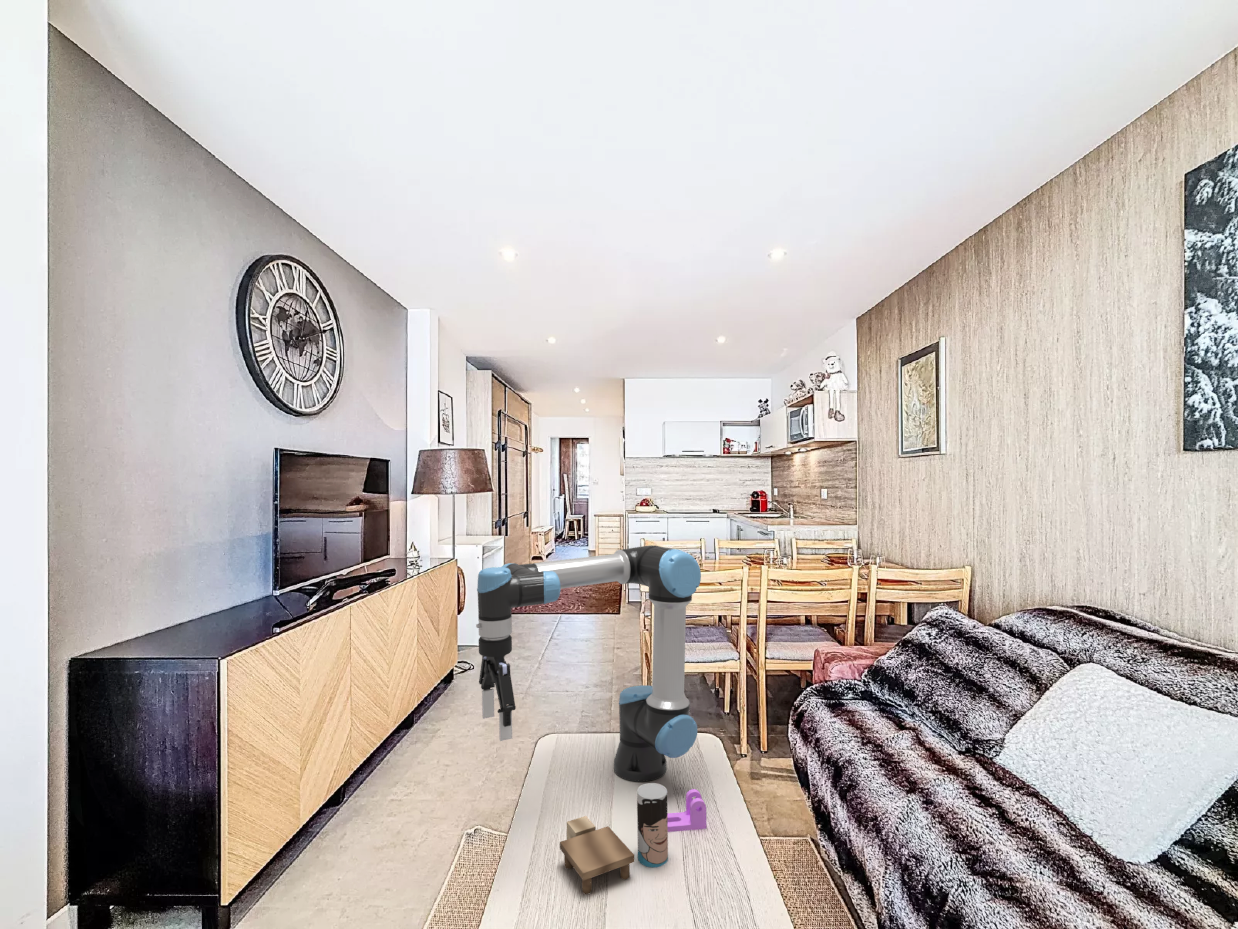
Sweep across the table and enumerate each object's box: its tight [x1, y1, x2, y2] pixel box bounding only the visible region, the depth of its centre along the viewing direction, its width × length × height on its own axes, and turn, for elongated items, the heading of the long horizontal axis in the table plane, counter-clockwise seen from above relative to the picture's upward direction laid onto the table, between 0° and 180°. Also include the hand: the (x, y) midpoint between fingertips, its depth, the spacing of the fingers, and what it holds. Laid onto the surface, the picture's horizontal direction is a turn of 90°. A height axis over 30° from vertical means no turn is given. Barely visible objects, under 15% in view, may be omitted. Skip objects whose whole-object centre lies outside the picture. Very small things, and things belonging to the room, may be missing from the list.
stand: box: [559, 825, 635, 895], centre depth 135 cm, size 12×12×5 cm
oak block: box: [566, 815, 597, 840], centre depth 144 cm, size 5×5×5 cm
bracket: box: [667, 788, 707, 833], centre depth 152 cm, size 13×6×7 cm, turn 97°
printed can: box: [636, 782, 669, 868], centre depth 140 cm, size 7×7×15 cm
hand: (496, 727), depth 144 cm, fingers open, 13 cm apart
